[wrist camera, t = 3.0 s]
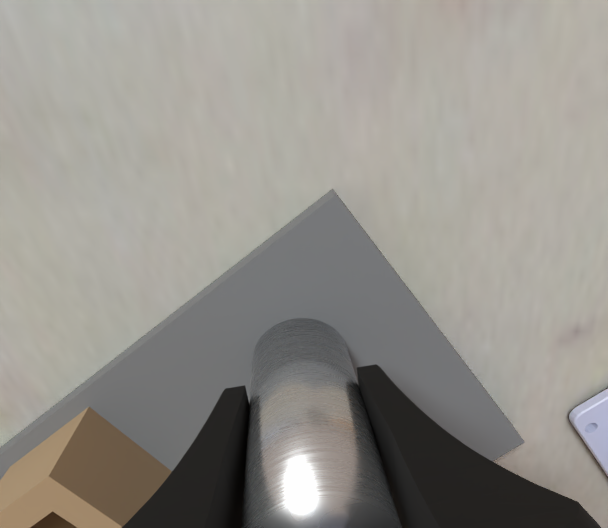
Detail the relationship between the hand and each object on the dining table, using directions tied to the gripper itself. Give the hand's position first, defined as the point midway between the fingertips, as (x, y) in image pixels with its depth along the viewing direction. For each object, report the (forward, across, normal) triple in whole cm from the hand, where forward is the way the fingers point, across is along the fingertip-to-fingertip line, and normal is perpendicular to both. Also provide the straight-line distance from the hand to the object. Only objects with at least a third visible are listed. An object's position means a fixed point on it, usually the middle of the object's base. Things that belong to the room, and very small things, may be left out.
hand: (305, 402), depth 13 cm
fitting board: (+3, +3, +4) cm, 6 cm away
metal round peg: (+2, 0, 0) cm, 2 cm away
